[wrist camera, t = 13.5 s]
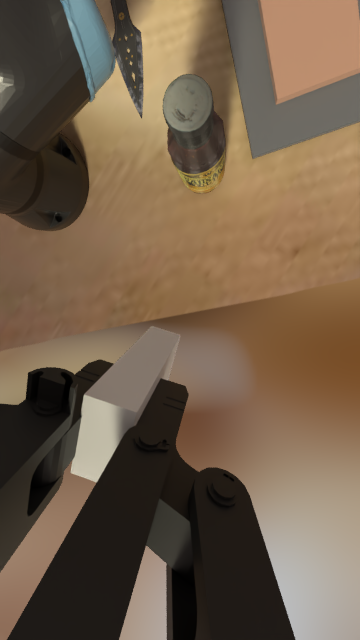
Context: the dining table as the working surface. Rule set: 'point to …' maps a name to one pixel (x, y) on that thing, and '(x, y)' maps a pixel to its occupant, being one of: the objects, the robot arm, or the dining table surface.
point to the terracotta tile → (309, 43)
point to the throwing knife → (135, 55)
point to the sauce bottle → (194, 133)
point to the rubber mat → (258, 97)
